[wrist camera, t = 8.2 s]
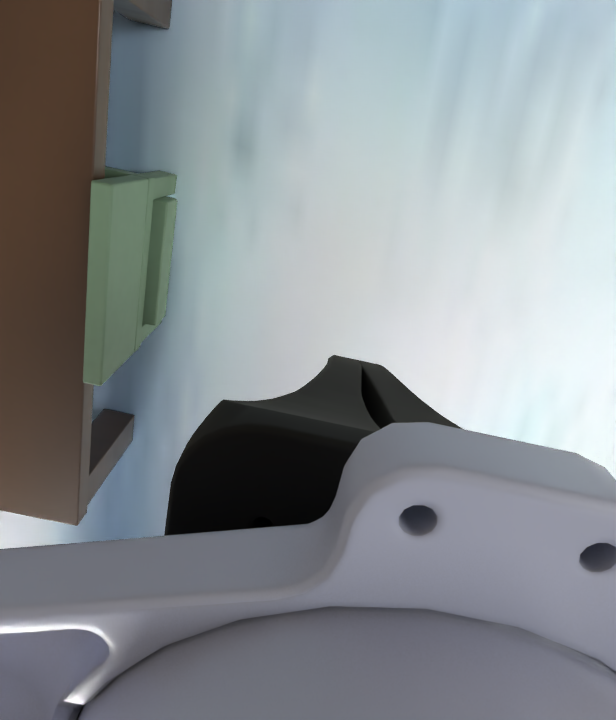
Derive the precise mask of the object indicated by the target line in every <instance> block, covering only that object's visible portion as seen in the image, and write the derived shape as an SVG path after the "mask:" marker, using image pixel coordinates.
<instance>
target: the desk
mask: <svg viewBox="0 0 616 720" xmlns="http://www.w3.org/2000/svg"><path fill="white" fill-rule="evenodd" d="M171 7H172V0H0V510H1V511H6V512H11V513H16V514H21V515H26V516H31V517H36V518H40V519H45V520H50V521H55V522H60V523H65V524H70V525H75V526H77V525H78V524H79V523H80V521H81V520H82V519H83V517H84V516H85V514H86V513H87V505H88V504H89V502H90V501H91V499H92V498H93V497H94V495H95V494H96V492H97V491H98V489H99V488H100V486H101V485H102V484H103V482H104V481H105V479H106V478H107V476H108V475H109V474H110V472H111V471H112V469H113V468H114V466H115V465H116V464H117V462H118V461H119V459H120V458H121V456H122V455H123V453H124V452H125V451H126V449H127V448H128V446H129V445H130V443H131V442H132V440H133V429H134V418H135V416H134V415H131V414H127V413H122V412H117V411H113V410H108V409H104V410H103V411H102V412H101V413H100V414H99V415H98V417H97V418H96V419H95V420H94V421H93V422H92V407H93V388H94V385H92V384H88V383H84V382H83V366H84V342H85V318H86V294H87V270H88V246H89V222H90V198H91V182H92V180H98V179H104V178H105V159H106V140H107V121H108V102H109V83H110V64H111V44H112V25H113V10H114V11H116V12H118V13H119V14H121V15H123V16H124V17H126V18H127V19H129V20H132V21H136V22H141V23H145V24H149V25H153V26H158V27H162V28H166V29H169V27H170V18H171Z"/></svg>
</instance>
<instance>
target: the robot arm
mask: <svg viewBox="0 0 616 720" xmlns="http://www.w3.org/2000/svg"><path fill="white" fill-rule="evenodd" d="M0 720H616V480H615V479H614V478H613V476H612V475H611V474H610V473H609V472H608V471H607V469H606V468H605V467H603V466H601V465H599V464H597V463H595V462H593V461H591V460H589V459H587V458H585V457H583V456H581V455H579V454H577V453H573V452H568V451H563V450H558V449H554V448H549V447H544V446H539V445H535V444H530V443H525V442H521V441H516V440H511V439H506V438H502V437H497V436H492V435H487V434H483V433H478V432H473V431H468V430H464V429H462V428H460V427H459V426H457V425H456V424H454V423H452V422H451V421H449V420H448V419H446V418H444V417H443V416H442V415H440V414H439V413H437V412H436V411H435V410H433V409H432V408H431V407H429V406H428V405H427V404H426V403H424V402H423V401H422V400H421V399H419V398H418V397H417V396H416V395H415V394H414V393H412V392H411V391H410V390H409V389H408V388H407V387H406V386H405V385H403V384H402V383H401V382H400V381H399V380H398V379H397V378H396V377H395V376H394V375H393V374H392V373H390V372H389V371H388V370H387V369H386V368H384V367H383V366H381V365H378V364H373V363H369V362H364V361H359V360H355V359H350V358H345V357H341V356H336V355H333V356H331V357H330V358H328V363H327V365H326V366H325V367H324V369H323V370H322V371H321V372H320V373H319V374H318V375H317V376H316V377H315V378H314V379H312V380H311V381H310V382H309V383H307V384H306V385H305V386H303V387H302V388H300V389H299V390H297V391H295V392H293V393H290V394H287V395H284V396H280V397H277V398H273V399H267V400H259V401H233V400H222V401H221V402H220V403H219V404H218V405H217V406H216V407H215V408H214V409H213V410H212V411H211V413H210V414H209V415H208V416H207V417H206V418H205V420H204V421H203V422H202V423H201V425H200V426H199V427H198V428H197V430H196V431H195V433H194V434H193V435H192V437H191V438H190V440H189V442H188V443H187V445H186V447H185V449H184V451H183V453H182V455H181V457H180V459H179V461H178V463H177V465H176V468H175V471H174V475H173V478H172V481H171V487H170V494H169V502H168V510H167V518H166V526H165V534H164V536H154V537H142V538H130V539H118V540H106V541H93V542H81V543H69V544H57V545H45V546H33V547H20V548H8V549H0Z"/></svg>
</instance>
